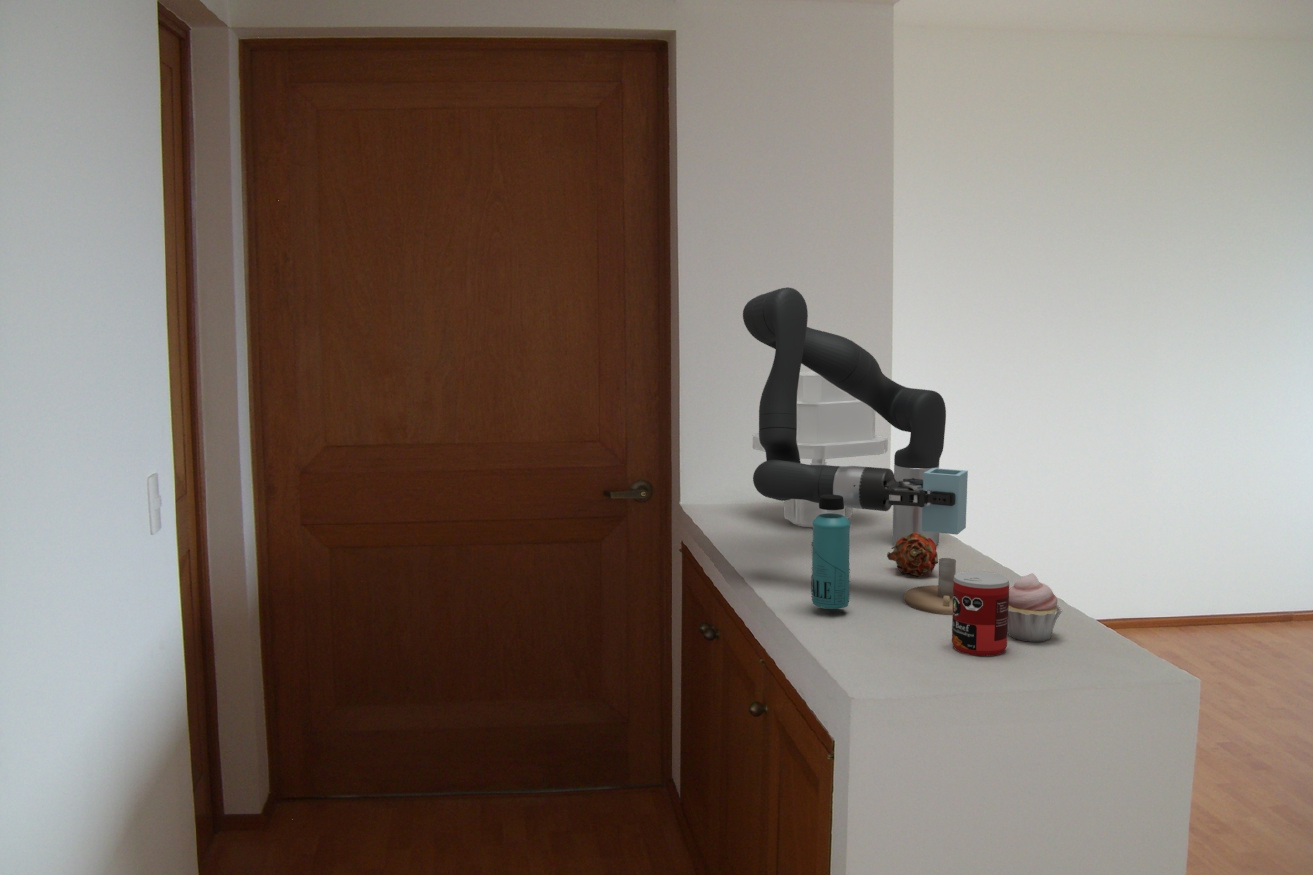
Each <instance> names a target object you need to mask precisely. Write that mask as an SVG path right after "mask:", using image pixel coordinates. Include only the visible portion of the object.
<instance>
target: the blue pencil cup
mask: <svg viewBox="0 0 1313 875" xmlns="http://www.w3.org/2000/svg"><path fill="white" fill-rule="evenodd" d="M968 472H969V471H968V470H963V469H950V468H940V467H939V468H932V469H930V470H928V471H926V472H924V473H923V489H925V490H927V489H929V490H931V491H941V492H953V493H955V504H954V505H953V506H945V505H934V504H932V503H931V505H929V506H926V505H925V506H924V507H922V531H927V532H936V533H939V534H947V535H955V536H957V535H959V534H960V533H961V532H963V531H964V530H965V529H966V526H967V504H968V500H967V499H968V477H969V476H968Z"/></svg>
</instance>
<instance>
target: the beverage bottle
mask: <svg viewBox="0 0 1313 875" xmlns="http://www.w3.org/2000/svg"><path fill="white" fill-rule="evenodd" d="M819 508H820V509H824V510H842V509H844V501H843V497H842V496H840V495H822V496H820V501H819ZM812 524H813V527H812V541H811V547H812V551H811V557H810V558H811V561H812V563H811V564H812V565H811V577H810V578H811V579H810V580H811V581H810V585H811V586H810V593H811V596H810V597H811V599H810V600H811V602H812V604H813V606H815V607H818V608H822V609H830V610H832V609H833V610H836V609H837V610H839V609H844V608H847V607H848V606H849V604H850V600H851V593H850V586H851V584H850V583H851V580H850V574H851V572H850V571H851V569H850V565H851V563H850V541H851V540H850V533H851V532H850V530H851V528H850V527H851V522H850V520H849V519H847V518H846V517H845V516H843V515H841V514H833V513H828V514H820V515H819V516H817V517H816V518H815V519H814V520H813V523H812Z"/></svg>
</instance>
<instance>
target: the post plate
mask: <svg viewBox="0 0 1313 875" xmlns="http://www.w3.org/2000/svg"><path fill="white" fill-rule="evenodd" d="M956 563H957V561H956V559H955V558H951V557H941V558H938V579H937V581H938V582H937V583H938V584H937V585H936V584H935V585H931V584H930V585H921V586H916V587H912V588H909V589H908V590H906V591H905V592H904V603H905V604H906V605H907V606H908V607H910V608H912V609H915V610H918V611H921V612H925V613H931V614H938V615H945V616H946V615H950V616H953V584H954V575H955V574H957V573H956V568H957V567H956V566H957V564H956Z"/></svg>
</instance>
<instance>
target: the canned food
mask: <svg viewBox="0 0 1313 875" xmlns="http://www.w3.org/2000/svg"><path fill="white" fill-rule="evenodd" d="M1009 589H1010V579H1009V577H1007V576H1005V575H1004V574H1000V573H996V572H989V571H982V570H981V571H980V570H979V571H977V570H975V571H974V570H972V571H971V570H970V571H969V570H968V571H962V572H957V573H955V575H954V584H953V615H951V616H952V617H951V618H952V619H951V620H952V622H951V623H952V626H951V644H952V646H953V649H955V651H958V652H960V653H963V654H965V655H969V656H976V657H994V656H1000V655H1002V654H1003V653H1006V652H1005V651H1006V649H1007V645H1008V609H1009Z"/></svg>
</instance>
